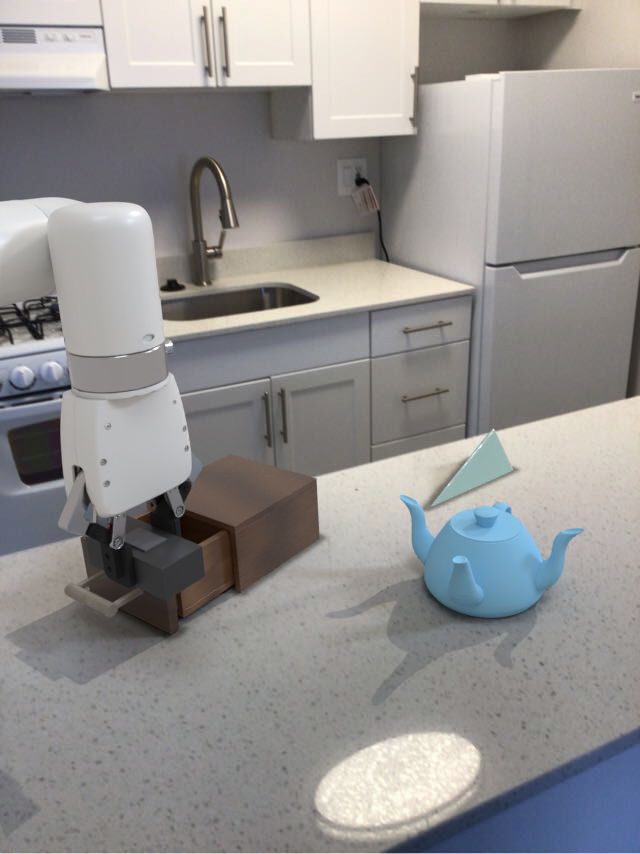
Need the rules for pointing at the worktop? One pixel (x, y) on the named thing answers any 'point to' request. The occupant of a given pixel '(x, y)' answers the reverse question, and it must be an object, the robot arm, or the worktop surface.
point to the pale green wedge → (478, 468)
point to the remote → (157, 559)
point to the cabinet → (256, 513)
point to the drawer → (147, 606)
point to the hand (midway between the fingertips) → (145, 566)
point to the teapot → (485, 560)
